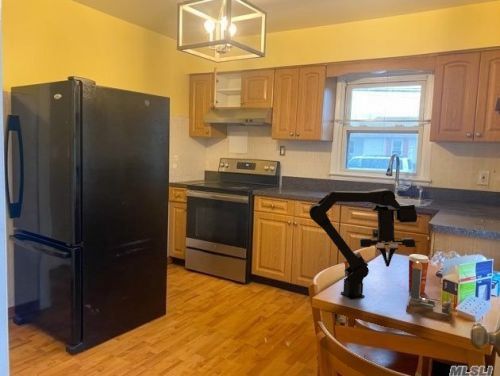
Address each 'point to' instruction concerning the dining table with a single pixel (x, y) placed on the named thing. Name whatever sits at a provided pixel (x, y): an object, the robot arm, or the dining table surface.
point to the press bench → (431, 309)
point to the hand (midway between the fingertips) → (387, 266)
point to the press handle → (417, 283)
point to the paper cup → (424, 261)
